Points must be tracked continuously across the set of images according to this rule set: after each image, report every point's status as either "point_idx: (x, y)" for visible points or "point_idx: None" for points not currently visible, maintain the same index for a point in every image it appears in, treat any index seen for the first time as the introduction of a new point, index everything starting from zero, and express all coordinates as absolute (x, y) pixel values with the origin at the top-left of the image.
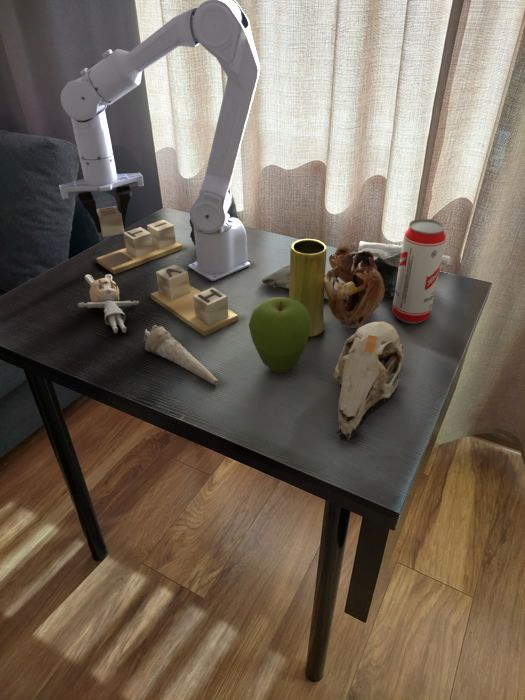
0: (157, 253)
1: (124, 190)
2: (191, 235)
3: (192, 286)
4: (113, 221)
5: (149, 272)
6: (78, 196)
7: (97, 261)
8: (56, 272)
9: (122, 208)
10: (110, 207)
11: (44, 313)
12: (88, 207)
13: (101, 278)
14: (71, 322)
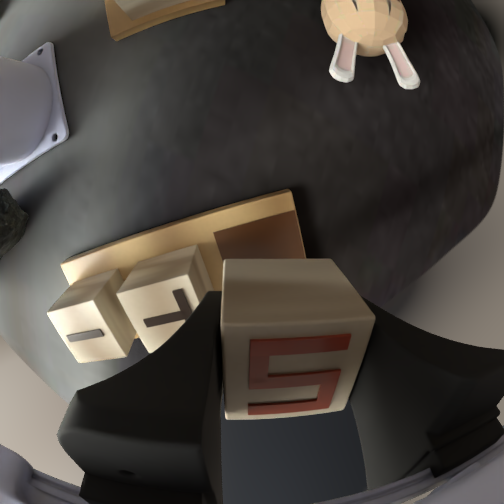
0: (128, 242)
1: (131, 480)
2: (6, 221)
3: (105, 3)
4: (280, 295)
5: (179, 152)
6: (498, 423)
7: None
8: (406, 276)
9: (198, 351)
10: (264, 411)
11: (463, 100)
12: (464, 351)
13: (382, 13)
14: (424, 29)
